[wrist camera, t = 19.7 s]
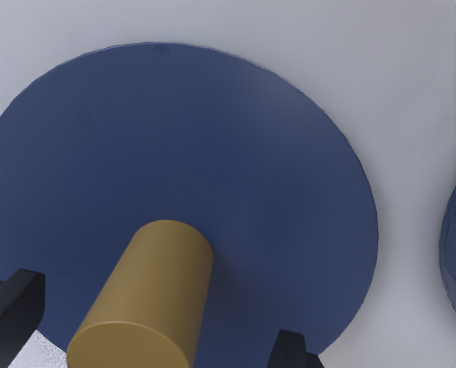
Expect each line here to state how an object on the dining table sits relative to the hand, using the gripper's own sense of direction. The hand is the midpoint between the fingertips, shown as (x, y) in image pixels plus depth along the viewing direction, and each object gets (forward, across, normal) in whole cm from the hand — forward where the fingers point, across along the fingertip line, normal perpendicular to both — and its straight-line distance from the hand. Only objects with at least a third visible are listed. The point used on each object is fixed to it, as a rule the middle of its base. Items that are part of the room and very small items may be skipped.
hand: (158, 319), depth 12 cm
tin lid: (+4, 0, 0) cm, 4 cm away
